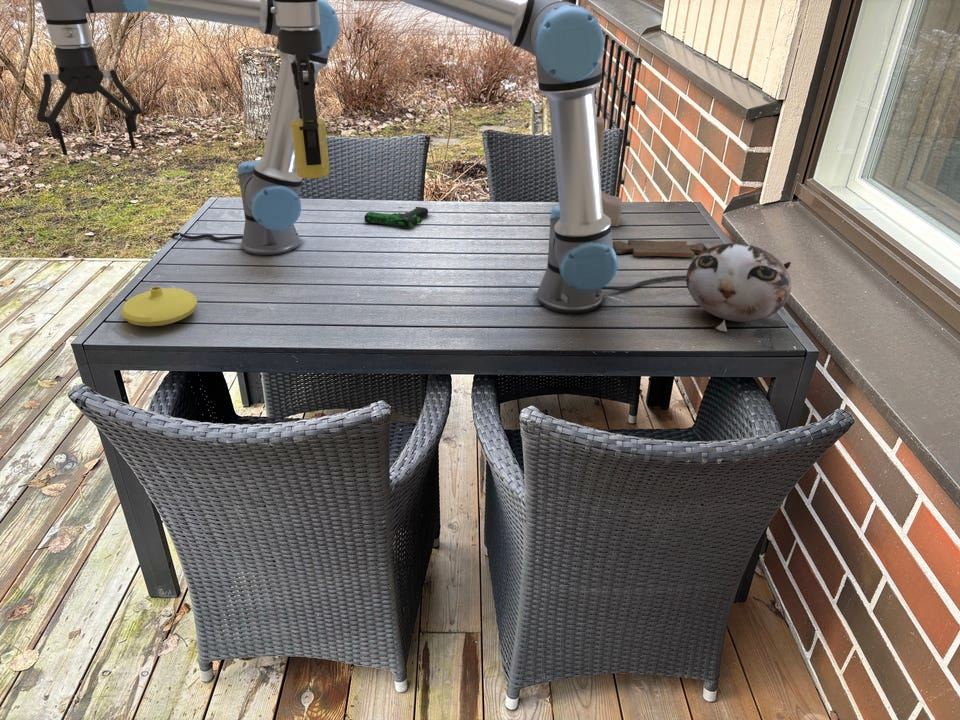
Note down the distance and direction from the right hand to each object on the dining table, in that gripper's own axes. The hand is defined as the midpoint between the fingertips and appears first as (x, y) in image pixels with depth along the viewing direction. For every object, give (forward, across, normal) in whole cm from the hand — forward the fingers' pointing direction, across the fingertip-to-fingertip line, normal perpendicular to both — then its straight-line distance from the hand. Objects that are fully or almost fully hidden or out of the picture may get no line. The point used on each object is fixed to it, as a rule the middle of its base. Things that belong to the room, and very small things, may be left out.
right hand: (312, 159), depth 138 cm
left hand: (+4, -34, -44) cm, 56 cm away
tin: (+3, 0, 0) cm, 3 cm away
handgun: (+37, -64, +27) cm, 79 cm away
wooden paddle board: (+37, -22, +92) cm, 102 cm away
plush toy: (+37, +18, +88) cm, 97 cm away
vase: (+37, -14, -36) cm, 53 cm away
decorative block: (+37, -48, +84) cm, 104 cm away
